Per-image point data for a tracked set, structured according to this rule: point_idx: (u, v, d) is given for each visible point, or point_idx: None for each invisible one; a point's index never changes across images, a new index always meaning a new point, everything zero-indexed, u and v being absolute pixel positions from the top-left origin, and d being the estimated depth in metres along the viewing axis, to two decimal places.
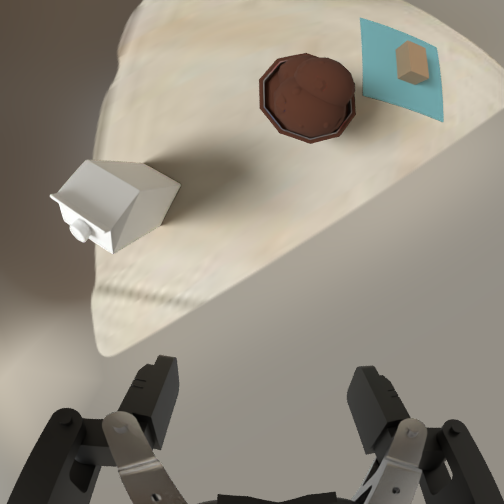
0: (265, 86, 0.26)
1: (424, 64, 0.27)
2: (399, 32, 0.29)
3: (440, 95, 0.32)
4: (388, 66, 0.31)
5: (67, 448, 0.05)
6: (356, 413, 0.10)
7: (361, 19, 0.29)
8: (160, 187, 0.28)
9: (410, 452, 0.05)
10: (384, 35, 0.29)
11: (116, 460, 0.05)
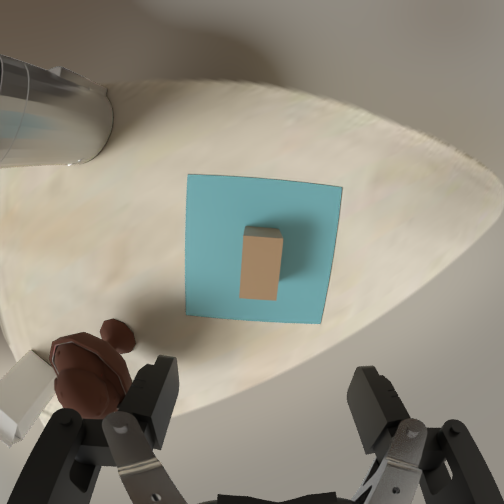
0: None
1: (270, 277, 0.25)
2: (261, 182, 0.27)
3: (324, 285, 0.30)
4: (227, 263, 0.29)
5: (67, 448, 0.05)
6: (356, 413, 0.10)
7: (189, 178, 0.27)
8: (34, 401, 0.27)
9: (410, 452, 0.05)
10: (228, 200, 0.27)
11: (116, 460, 0.05)
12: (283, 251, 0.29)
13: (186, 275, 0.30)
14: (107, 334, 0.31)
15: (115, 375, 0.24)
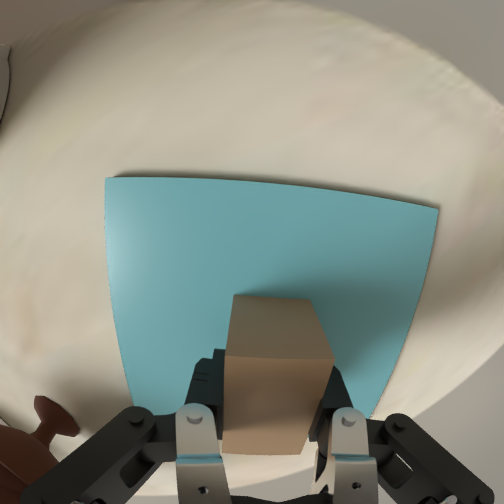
0: None
1: (293, 427, 0.09)
2: (272, 192, 0.11)
3: (379, 385, 0.14)
4: None
5: (128, 446, 0.06)
6: None
7: (108, 185, 0.11)
8: None
9: (355, 442, 0.06)
10: (194, 235, 0.11)
11: (178, 448, 0.06)
12: None
13: (127, 372, 0.14)
14: (40, 415, 0.15)
15: None
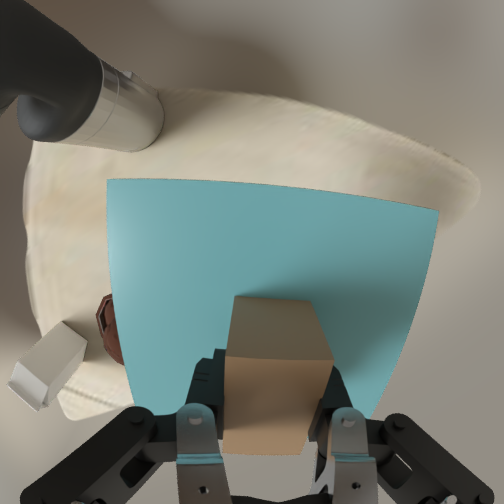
0: (103, 316, 0.32)
1: (292, 428, 0.09)
2: (273, 194, 0.11)
3: (380, 386, 0.14)
4: None
5: (128, 446, 0.06)
6: None
7: (110, 187, 0.11)
8: (65, 366, 0.35)
9: (354, 442, 0.06)
10: (195, 237, 0.12)
11: (178, 448, 0.06)
12: None
13: (128, 373, 0.14)
14: None
15: None
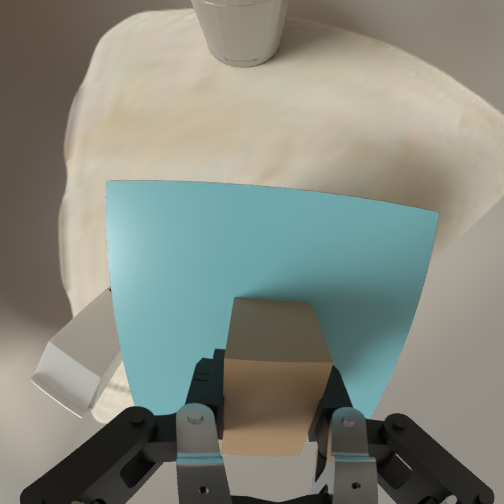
0: None
1: (291, 429, 0.09)
2: (272, 196, 0.11)
3: (379, 387, 0.14)
4: None
5: (128, 446, 0.06)
6: None
7: (110, 189, 0.11)
8: None
9: (354, 442, 0.06)
10: (195, 239, 0.12)
11: (178, 448, 0.06)
12: None
13: (128, 374, 0.14)
14: None
15: None
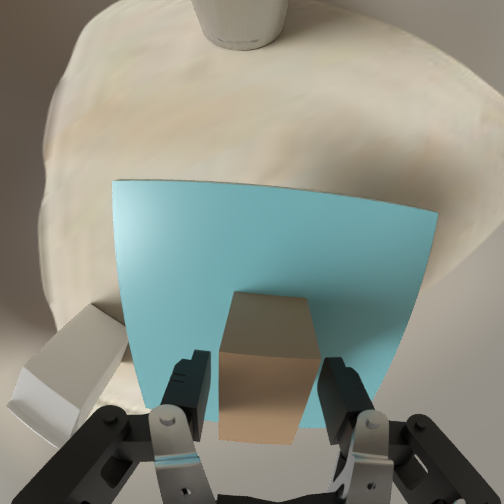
0: None
1: (283, 419, 0.10)
2: (271, 196, 0.11)
3: (375, 381, 0.15)
4: None
5: (105, 445, 0.05)
6: (323, 403, 0.10)
7: (116, 188, 0.12)
8: (103, 372, 0.23)
9: (375, 444, 0.06)
10: (196, 236, 0.12)
11: (154, 451, 0.06)
12: None
13: (135, 361, 0.15)
14: None
15: None
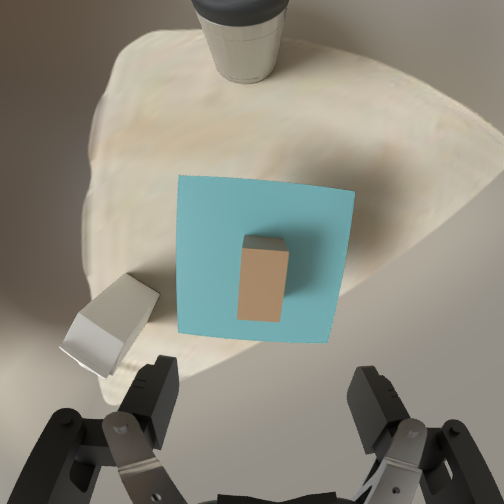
0: None
1: (273, 296, 0.21)
2: (263, 184, 0.23)
3: (333, 301, 0.26)
4: (223, 277, 0.26)
5: (67, 448, 0.05)
6: (356, 413, 0.10)
7: (180, 179, 0.23)
8: (140, 319, 0.35)
9: (410, 452, 0.05)
10: (225, 205, 0.24)
11: (116, 461, 0.05)
12: (288, 264, 0.25)
13: (177, 290, 0.26)
14: None
15: None
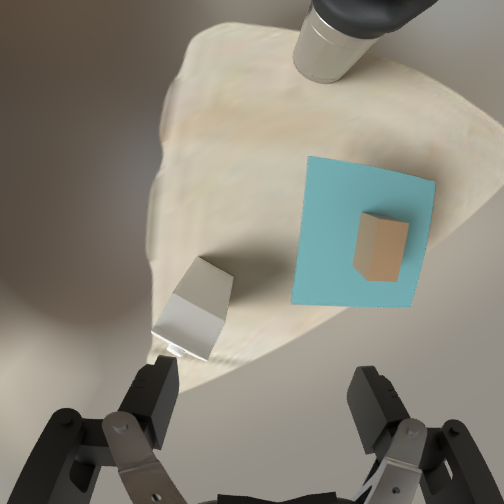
0: None
1: (395, 259, 0.24)
2: (376, 171, 0.26)
3: (417, 269, 0.29)
4: (341, 248, 0.28)
5: (67, 448, 0.05)
6: (356, 413, 0.10)
7: (311, 159, 0.26)
8: (228, 299, 0.37)
9: (410, 452, 0.05)
10: (348, 185, 0.26)
11: (116, 461, 0.05)
12: None
13: (299, 261, 0.29)
14: None
15: None
